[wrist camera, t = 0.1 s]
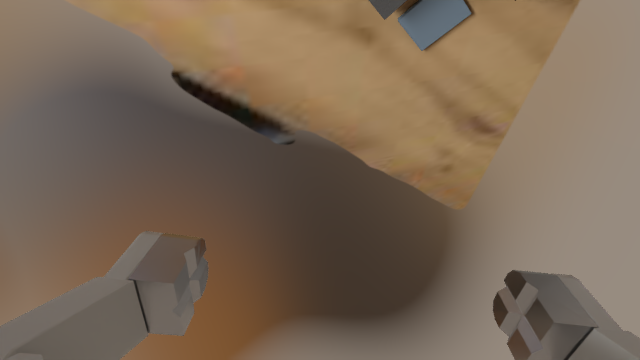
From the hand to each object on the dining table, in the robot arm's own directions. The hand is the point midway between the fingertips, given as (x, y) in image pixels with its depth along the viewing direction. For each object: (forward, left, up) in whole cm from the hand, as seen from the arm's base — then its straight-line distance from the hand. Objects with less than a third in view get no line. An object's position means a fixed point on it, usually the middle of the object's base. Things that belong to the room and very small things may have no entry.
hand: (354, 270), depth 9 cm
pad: (-1, +19, -52) cm, 55 cm away
